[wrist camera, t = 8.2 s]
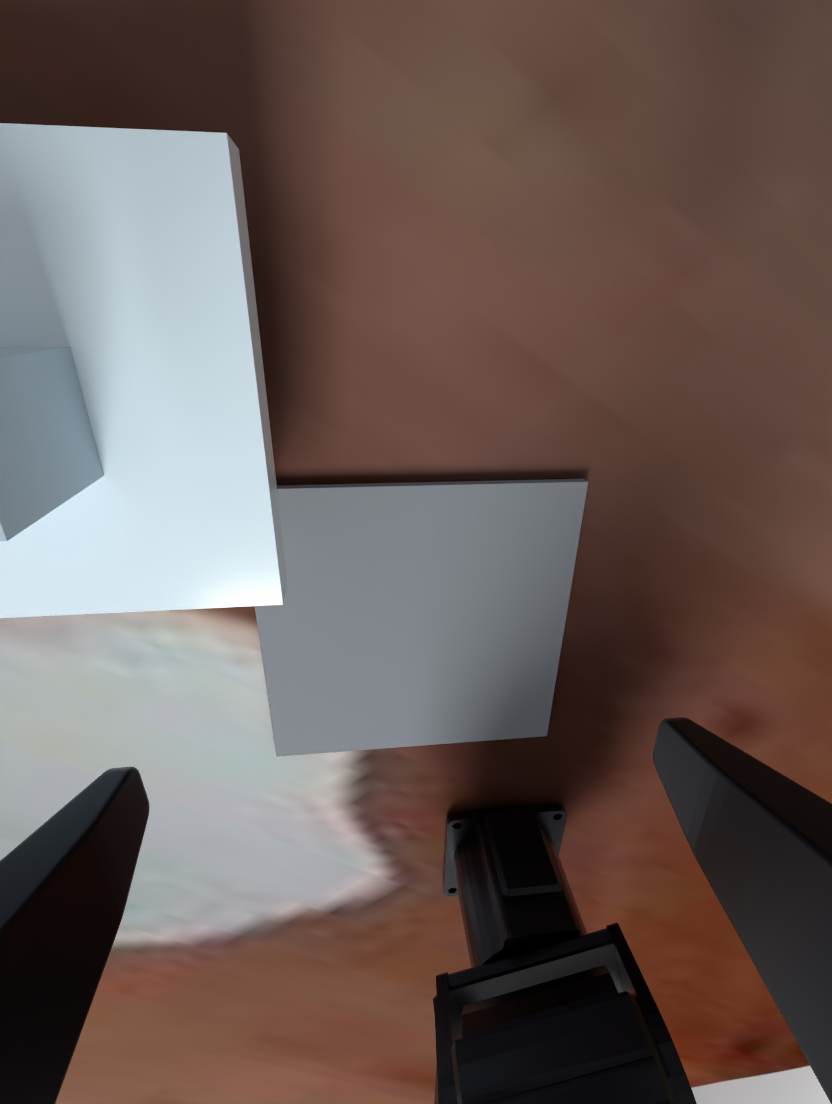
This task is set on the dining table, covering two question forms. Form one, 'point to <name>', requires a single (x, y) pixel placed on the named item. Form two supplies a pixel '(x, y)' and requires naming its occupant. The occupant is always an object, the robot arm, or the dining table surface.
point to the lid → (131, 378)
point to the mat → (419, 612)
